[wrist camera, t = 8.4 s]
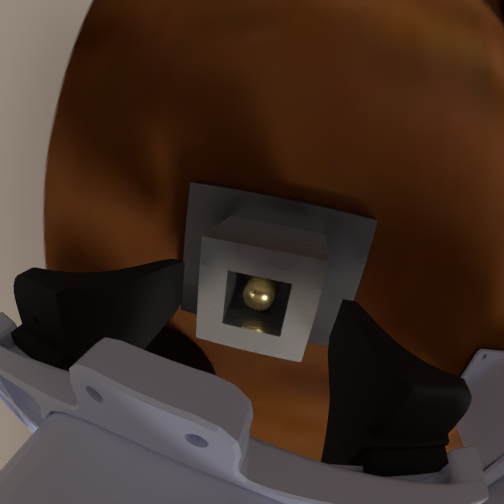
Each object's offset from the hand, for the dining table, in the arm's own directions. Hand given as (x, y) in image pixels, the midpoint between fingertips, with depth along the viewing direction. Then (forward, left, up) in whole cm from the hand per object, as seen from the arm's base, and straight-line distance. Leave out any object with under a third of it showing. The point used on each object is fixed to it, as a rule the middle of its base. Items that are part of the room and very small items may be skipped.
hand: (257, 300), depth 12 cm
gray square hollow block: (0, 0, -3) cm, 3 cm away
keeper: (0, 0, -4) cm, 4 cm away
